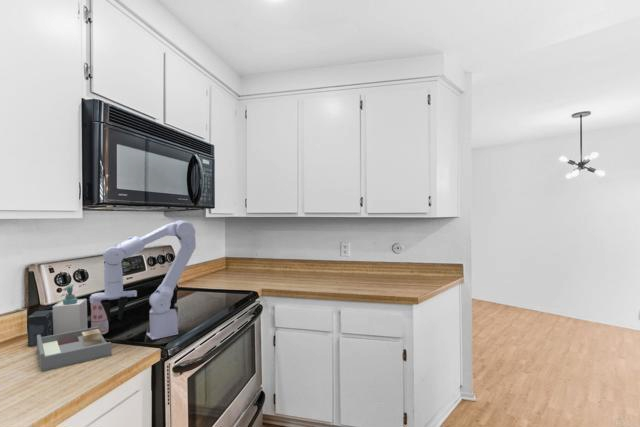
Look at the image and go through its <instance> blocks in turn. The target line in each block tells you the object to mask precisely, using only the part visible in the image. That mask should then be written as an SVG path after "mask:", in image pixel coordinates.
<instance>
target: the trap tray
mask: <svg viewBox="0 0 640 427" xmlns="http://www.w3.org/2000/svg"><path fill="white" fill-rule="evenodd" d="M87 328H88V327H87ZM95 329H99V330H100V327H99V326H98V327H93V328H91V327H89V328H88V329H82V330H77V331H72V332H66V333H61V334H56V335H50V336H45V337H41V335H37V346H36V350H37V357H38V361H39V368H40V372H45V371H49V370H52V369H57V368H62V367H66V366H70V365H74V364H80V363H83V362H87V361H91V360H95V359H100V358H105V357H108V356H112V342H111V341H109V342H107V341H106V339H105V338H104V336H103V334H102V335H101V343H98V344H93V345H88V346H84V345H83V343H82V332H85V331H90V330H95Z"/></svg>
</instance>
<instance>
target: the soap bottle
mask: <svg viewBox="0 0 640 427" xmlns="http://www.w3.org/2000/svg"><path fill="white" fill-rule="evenodd" d="M73 287H74V284H68V285H67V286H66V287H64V288H63V289H64V291H66V293H67V294H66V295H65V298H63V299H62V300H60V301H58V302H57V303H56V304H54V305H52V310H53V335H56V334H61V333H66V332H72V331H77V330H82V329H88V300H87V298H77V297H76V296H75V294H74V293H73V289H74V288H73Z"/></svg>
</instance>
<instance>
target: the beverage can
mask: <svg viewBox="0 0 640 427" xmlns="http://www.w3.org/2000/svg"><path fill="white" fill-rule="evenodd" d="M101 294H105V292H96V293H92V294H91V295H90V297H91V296H97V295H101ZM90 323H91V324H90V328H93V327H98V326H99V327H100V332H101V335H102V336H103V335H105V334H107V333H108V332H109V321H108V320H107V315H106V312H105V310H104V308H103V306H102V304H101V303H100V302H94V303H90Z"/></svg>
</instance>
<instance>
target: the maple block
mask: <svg viewBox="0 0 640 427" xmlns="http://www.w3.org/2000/svg"><path fill="white" fill-rule="evenodd" d="M82 343H83V345H84V346H88V345H93V344H98V343H101V332H100V330H99V329H95V330H90V331H85V332H82Z"/></svg>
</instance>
